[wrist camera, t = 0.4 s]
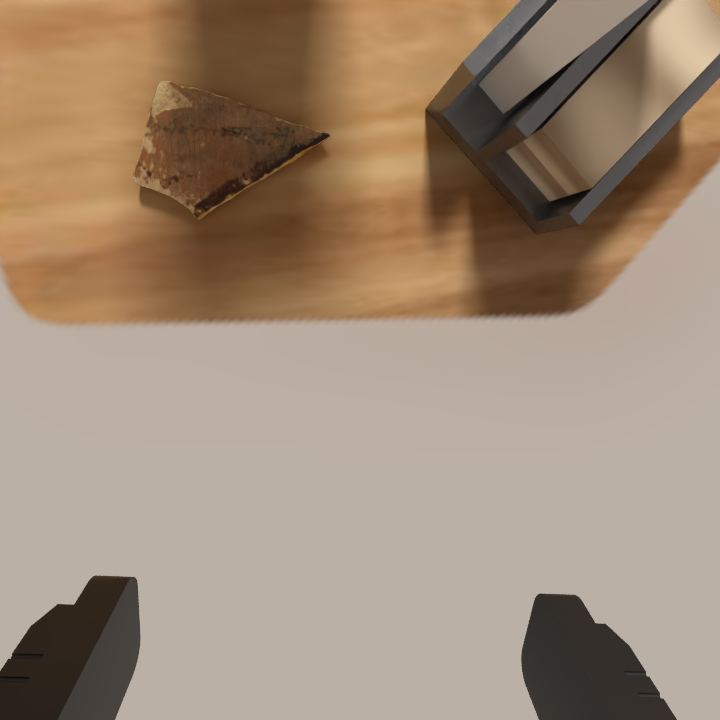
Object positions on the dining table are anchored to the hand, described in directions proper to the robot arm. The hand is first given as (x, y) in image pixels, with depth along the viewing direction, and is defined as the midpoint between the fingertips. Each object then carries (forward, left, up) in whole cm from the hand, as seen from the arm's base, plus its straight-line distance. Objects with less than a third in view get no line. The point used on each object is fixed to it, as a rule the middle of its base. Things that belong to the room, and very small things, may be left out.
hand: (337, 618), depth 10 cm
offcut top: (-18, +20, -22) cm, 35 cm away
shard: (-16, -5, -27) cm, 32 cm away
